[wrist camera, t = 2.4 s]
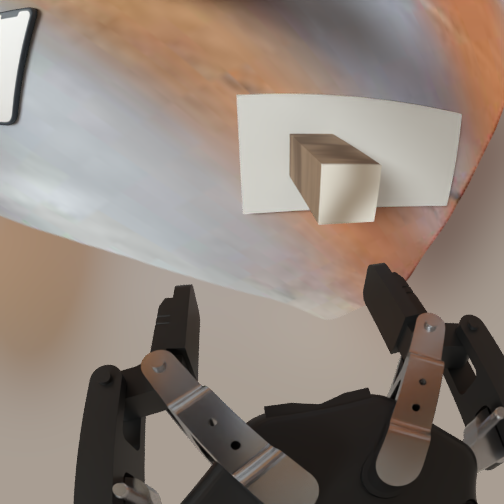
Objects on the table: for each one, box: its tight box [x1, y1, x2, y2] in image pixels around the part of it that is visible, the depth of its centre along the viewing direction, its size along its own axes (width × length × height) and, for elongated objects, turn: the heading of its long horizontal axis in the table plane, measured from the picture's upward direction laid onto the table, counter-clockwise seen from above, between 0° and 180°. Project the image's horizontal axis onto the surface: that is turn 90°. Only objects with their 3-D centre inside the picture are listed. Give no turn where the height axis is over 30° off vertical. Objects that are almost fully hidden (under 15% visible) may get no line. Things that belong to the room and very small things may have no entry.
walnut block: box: [289, 134, 382, 225], centre depth 28 cm, size 5×5×12 cm
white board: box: [236, 93, 462, 214], centre depth 34 cm, size 30×14×2 cm, turn 92°
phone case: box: [0, 7, 37, 125], centre depth 22 cm, size 9×2×16 cm
